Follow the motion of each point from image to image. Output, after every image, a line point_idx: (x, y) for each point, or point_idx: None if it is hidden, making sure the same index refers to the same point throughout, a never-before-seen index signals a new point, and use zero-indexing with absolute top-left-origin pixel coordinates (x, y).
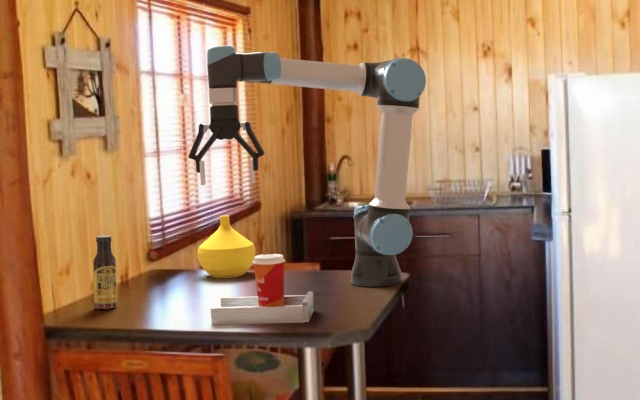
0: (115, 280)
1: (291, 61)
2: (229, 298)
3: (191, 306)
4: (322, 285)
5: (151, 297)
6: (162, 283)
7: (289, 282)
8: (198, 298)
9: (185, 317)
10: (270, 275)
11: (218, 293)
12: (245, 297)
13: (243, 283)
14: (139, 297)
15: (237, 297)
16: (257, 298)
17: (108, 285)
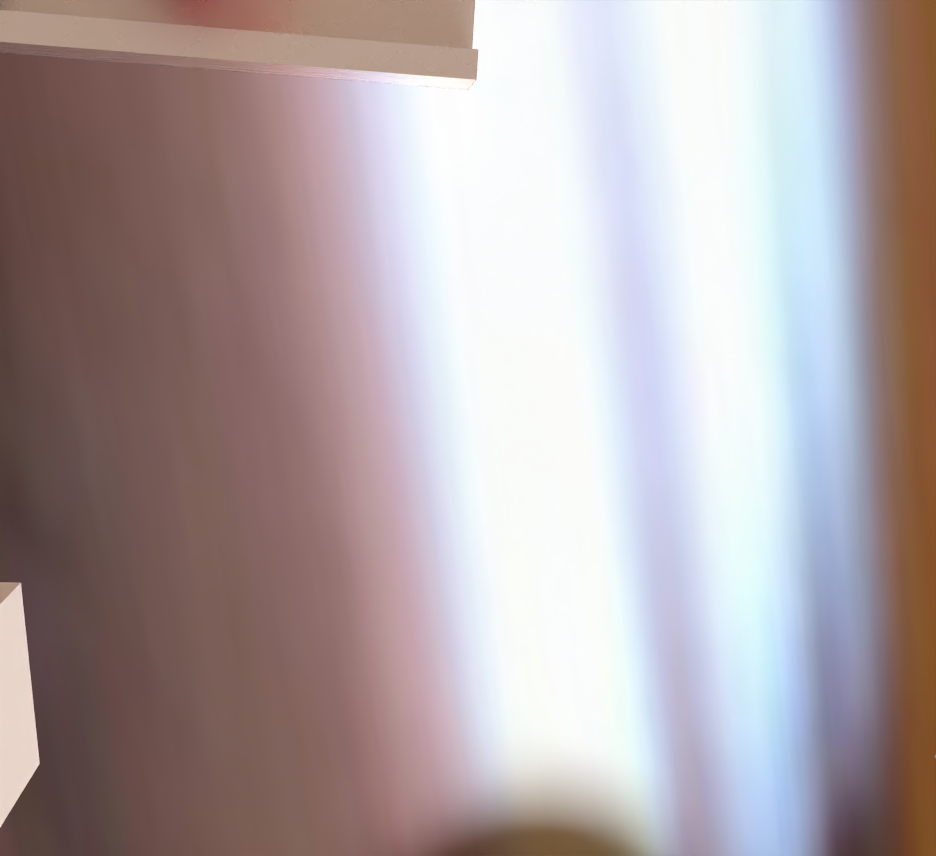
0: None
1: None
2: (422, 45)
3: (653, 286)
4: None
5: (871, 535)
6: (842, 836)
7: (214, 785)
8: (636, 476)
9: (657, 3)
10: None
11: (547, 579)
12: (323, 37)
13: (449, 790)
14: (929, 544)
15: (373, 46)
16: (248, 31)
17: None
